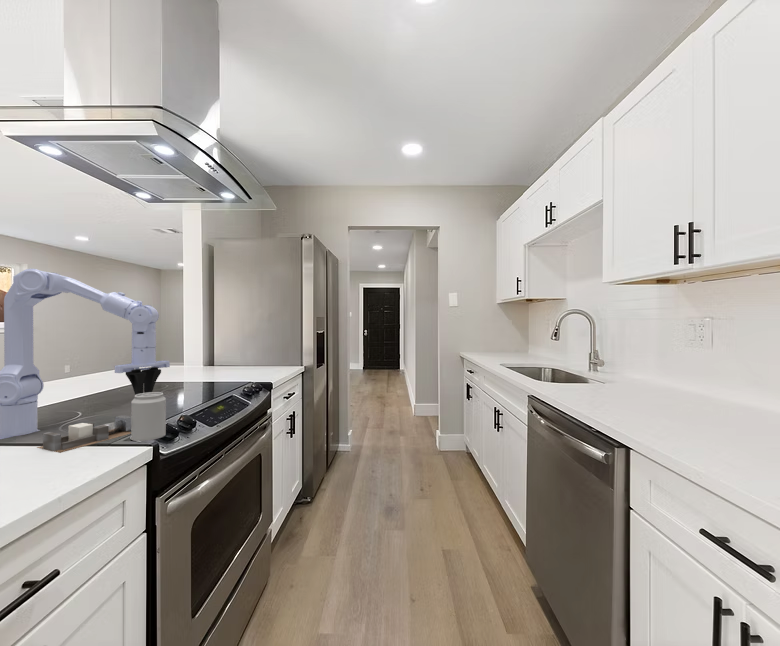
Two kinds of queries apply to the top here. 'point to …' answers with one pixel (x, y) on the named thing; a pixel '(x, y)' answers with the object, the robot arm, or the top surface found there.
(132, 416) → the can
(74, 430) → the spacer
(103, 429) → the bearing bench
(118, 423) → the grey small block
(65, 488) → the top surface
